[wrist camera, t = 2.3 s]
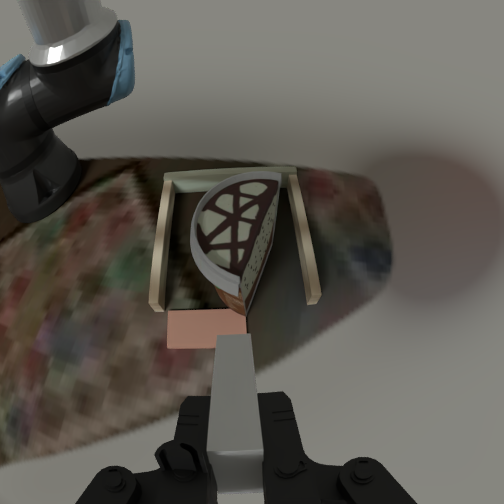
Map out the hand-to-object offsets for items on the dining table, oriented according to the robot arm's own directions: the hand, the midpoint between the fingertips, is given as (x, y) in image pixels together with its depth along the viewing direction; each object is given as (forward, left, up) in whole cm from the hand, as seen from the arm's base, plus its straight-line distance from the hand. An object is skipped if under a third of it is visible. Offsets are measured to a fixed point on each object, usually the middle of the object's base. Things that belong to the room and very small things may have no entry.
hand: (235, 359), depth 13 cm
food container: (-12, 0, -15) cm, 19 cm away
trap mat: (-6, -3, -15) cm, 16 cm away
